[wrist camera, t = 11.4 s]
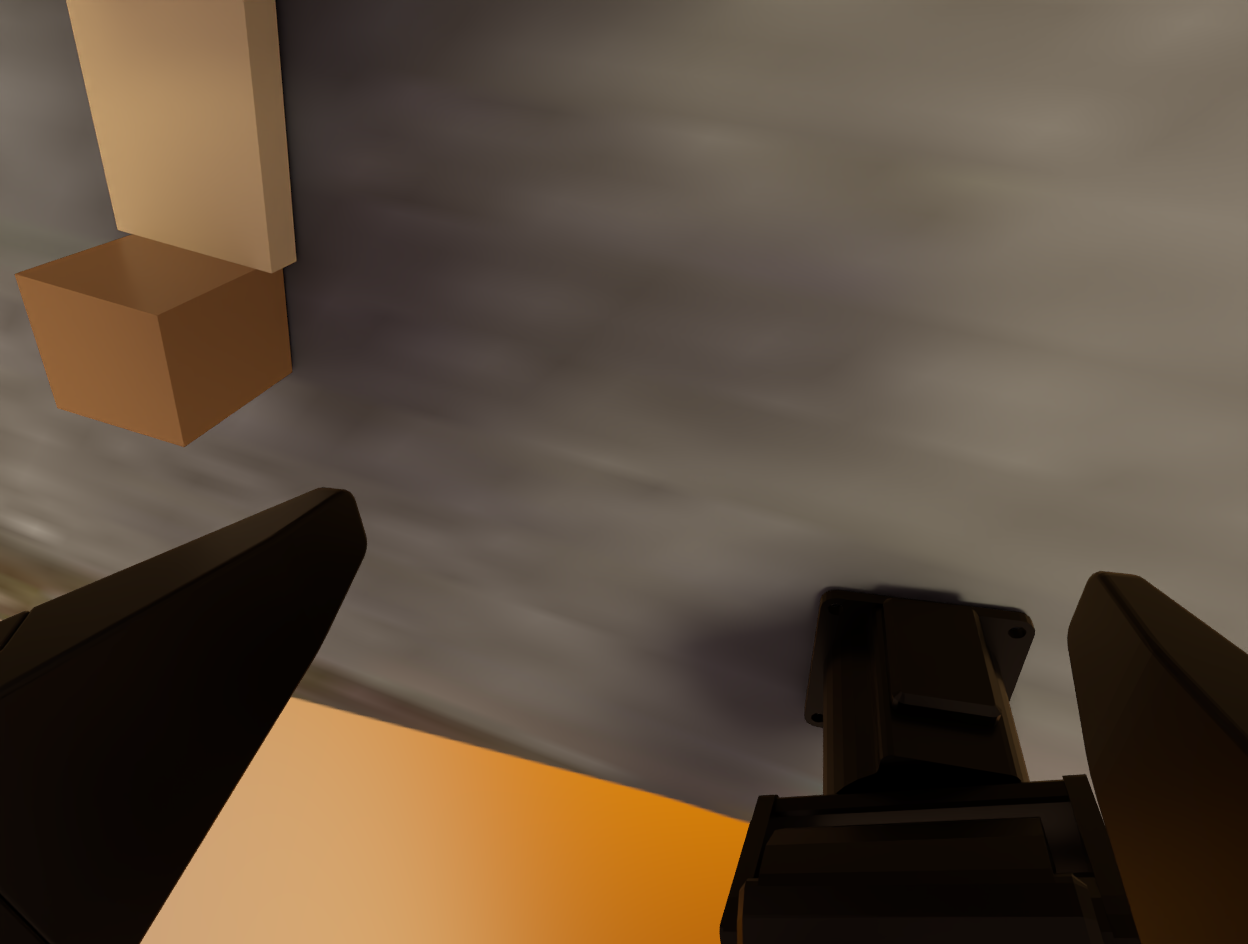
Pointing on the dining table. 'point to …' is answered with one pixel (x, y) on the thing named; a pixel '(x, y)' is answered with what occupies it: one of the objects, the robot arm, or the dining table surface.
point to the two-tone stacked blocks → (175, 221)
